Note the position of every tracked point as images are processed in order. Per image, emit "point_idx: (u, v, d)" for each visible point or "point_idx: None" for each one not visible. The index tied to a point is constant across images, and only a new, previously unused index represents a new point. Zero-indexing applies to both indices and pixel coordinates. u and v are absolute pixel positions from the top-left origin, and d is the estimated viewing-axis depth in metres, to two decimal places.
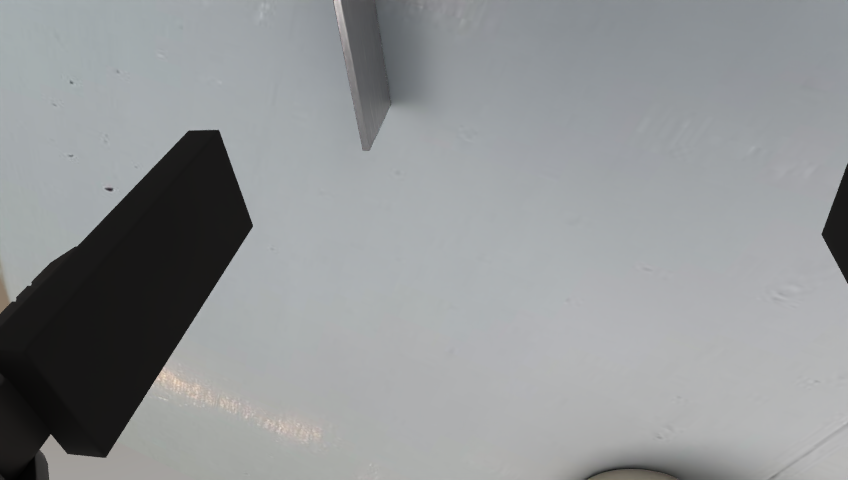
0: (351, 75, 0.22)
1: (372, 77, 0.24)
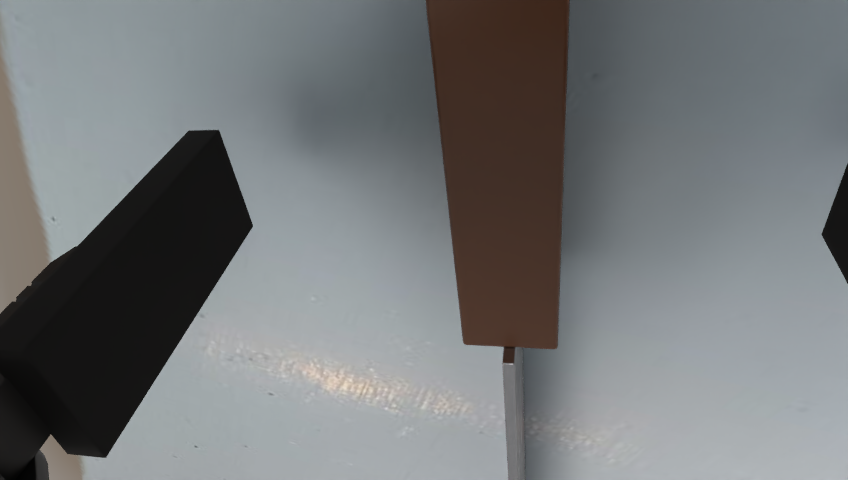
0: None
1: None
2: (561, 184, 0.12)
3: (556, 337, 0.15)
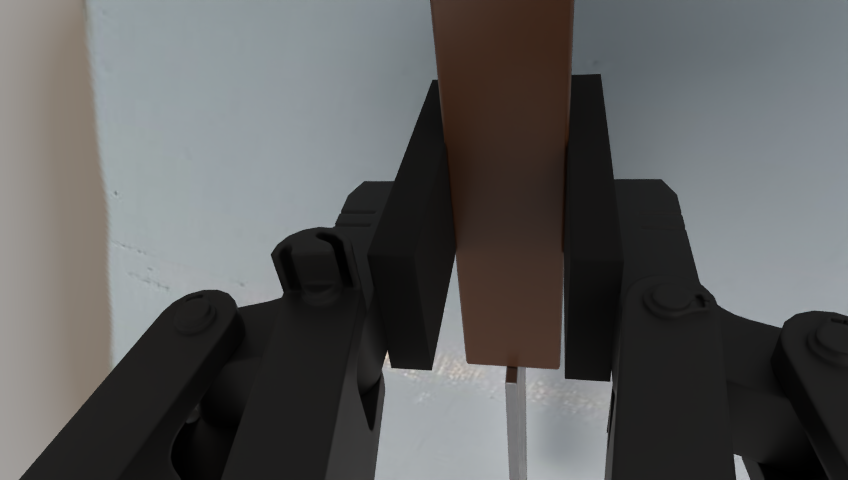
0: None
1: None
2: (564, 207, 0.12)
3: (558, 357, 0.15)
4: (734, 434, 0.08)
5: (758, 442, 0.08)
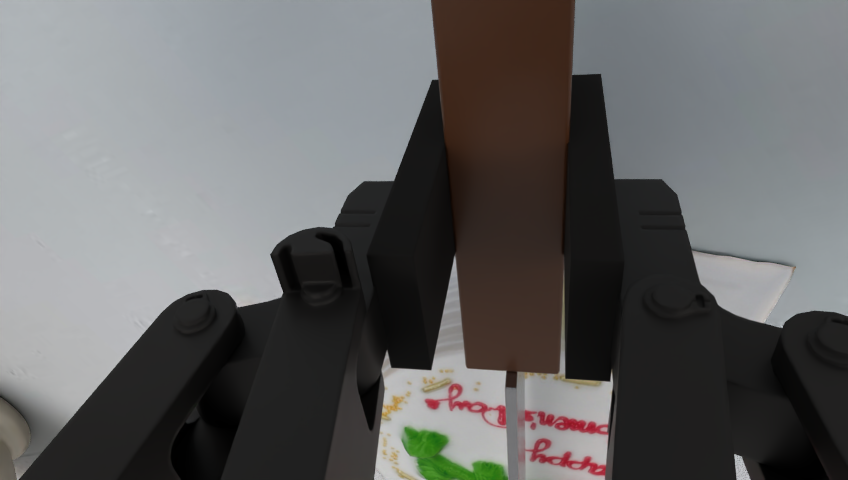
0: None
1: None
2: (564, 211, 0.12)
3: (558, 362, 0.15)
4: (735, 434, 0.08)
5: (758, 442, 0.08)
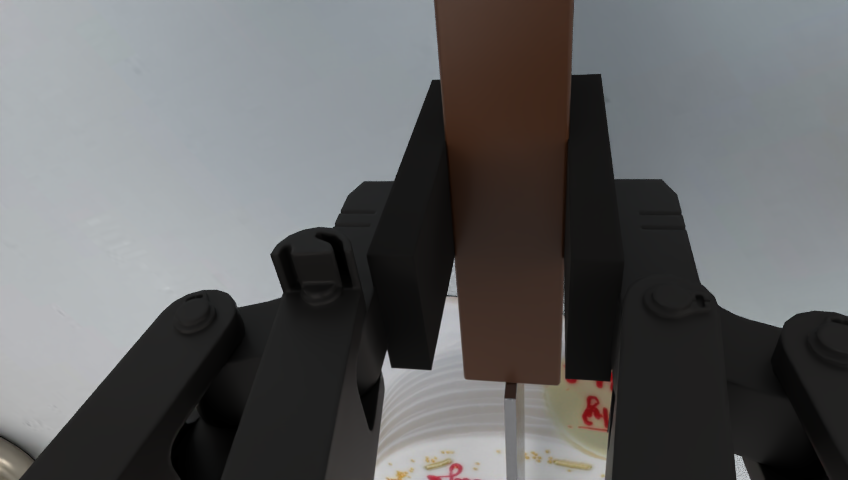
0: None
1: None
2: (564, 208, 0.12)
3: (559, 372, 0.15)
4: (734, 435, 0.08)
5: (759, 442, 0.08)
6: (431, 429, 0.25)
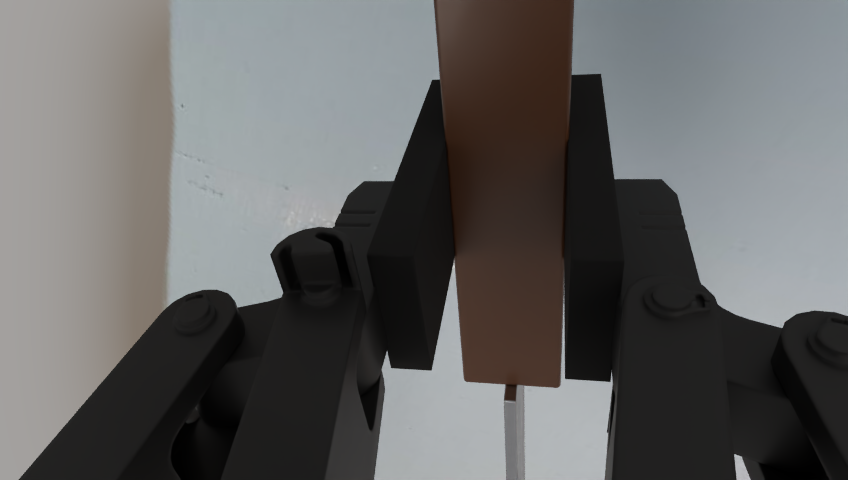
0: None
1: None
2: (564, 211, 0.12)
3: (559, 374, 0.15)
4: (734, 435, 0.08)
5: (759, 442, 0.08)
6: None
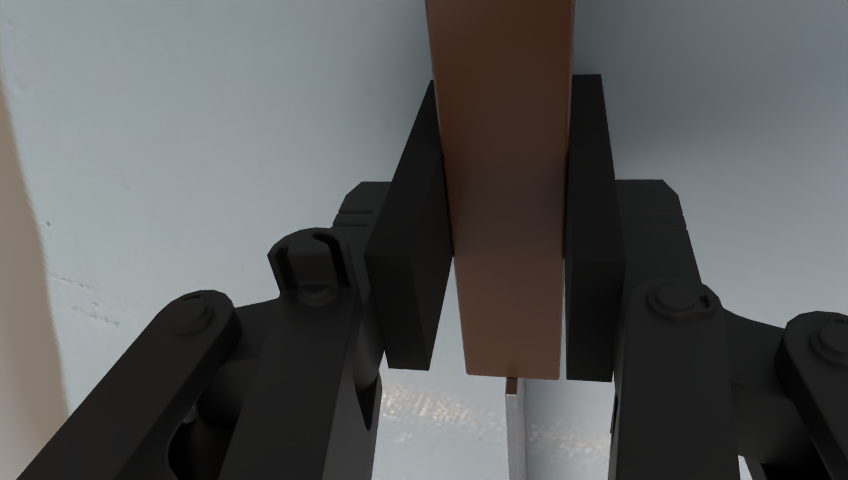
0: None
1: None
2: (564, 226, 0.12)
3: (558, 369, 0.15)
4: (737, 435, 0.08)
5: (761, 443, 0.08)
6: None
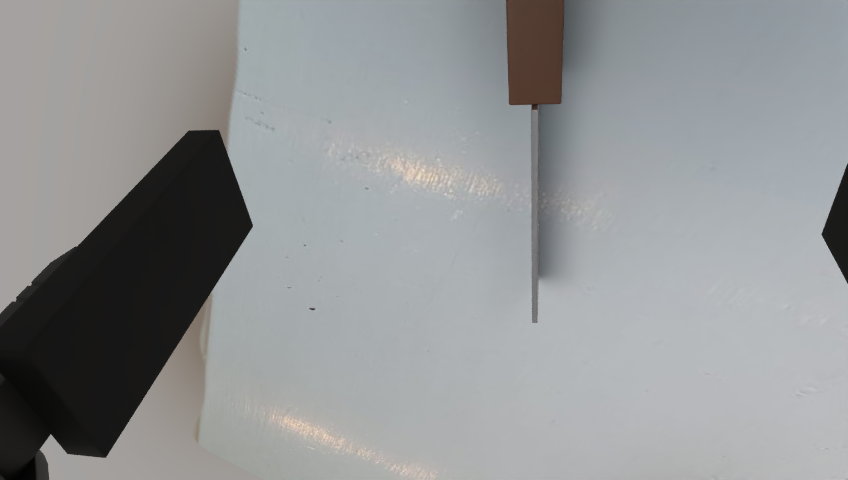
0: (534, 284, 0.35)
1: None
2: None
3: (560, 94, 0.28)
4: None
5: None
6: None
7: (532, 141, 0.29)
